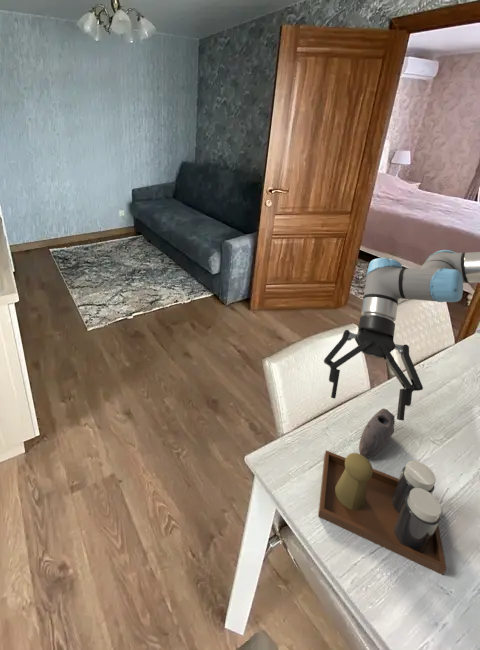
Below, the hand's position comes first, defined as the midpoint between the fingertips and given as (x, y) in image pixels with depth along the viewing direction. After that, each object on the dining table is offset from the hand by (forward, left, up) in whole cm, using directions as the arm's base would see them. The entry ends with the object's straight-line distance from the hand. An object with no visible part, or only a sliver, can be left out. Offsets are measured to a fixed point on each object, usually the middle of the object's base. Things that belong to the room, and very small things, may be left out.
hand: (365, 408), depth 78 cm
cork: (0, +10, -16) cm, 19 cm away
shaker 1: (-11, +7, -16) cm, 20 cm away
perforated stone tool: (-5, -7, -17) cm, 19 cm away
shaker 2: (-11, +13, -16) cm, 23 cm away
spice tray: (-5, +10, -16) cm, 20 cm away
